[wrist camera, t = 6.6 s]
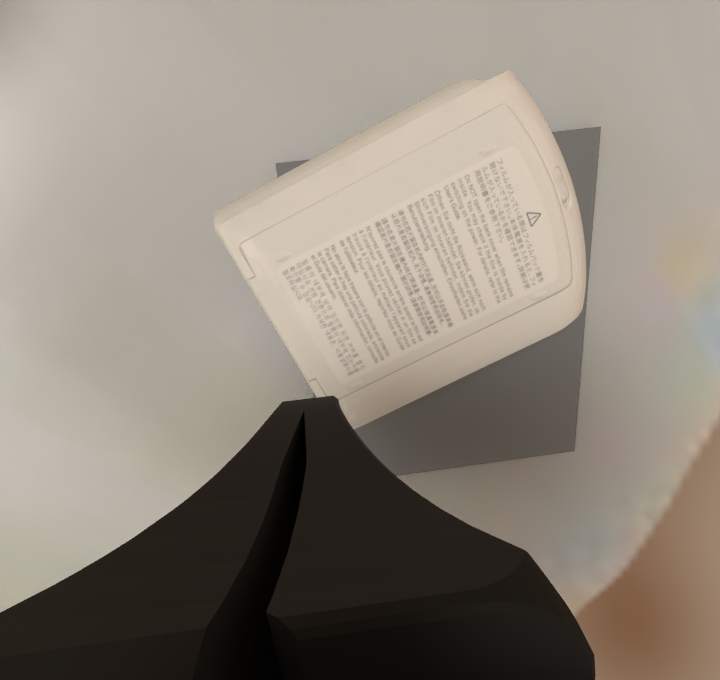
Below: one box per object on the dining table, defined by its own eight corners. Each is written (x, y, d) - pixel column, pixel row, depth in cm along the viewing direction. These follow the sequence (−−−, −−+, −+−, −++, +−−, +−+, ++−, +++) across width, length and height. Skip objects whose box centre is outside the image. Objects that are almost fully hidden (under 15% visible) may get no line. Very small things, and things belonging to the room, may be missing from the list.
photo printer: (339, 404, 21) (572, 288, 20) (343, 455, 17) (634, 313, 16) (223, 211, 18) (495, 59, 17) (193, 218, 14) (550, 18, 13)
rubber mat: (569, 445, 24) (574, 450, 23) (328, 478, 23) (328, 485, 23) (593, 128, 18) (600, 126, 18) (277, 164, 18) (275, 163, 17)
